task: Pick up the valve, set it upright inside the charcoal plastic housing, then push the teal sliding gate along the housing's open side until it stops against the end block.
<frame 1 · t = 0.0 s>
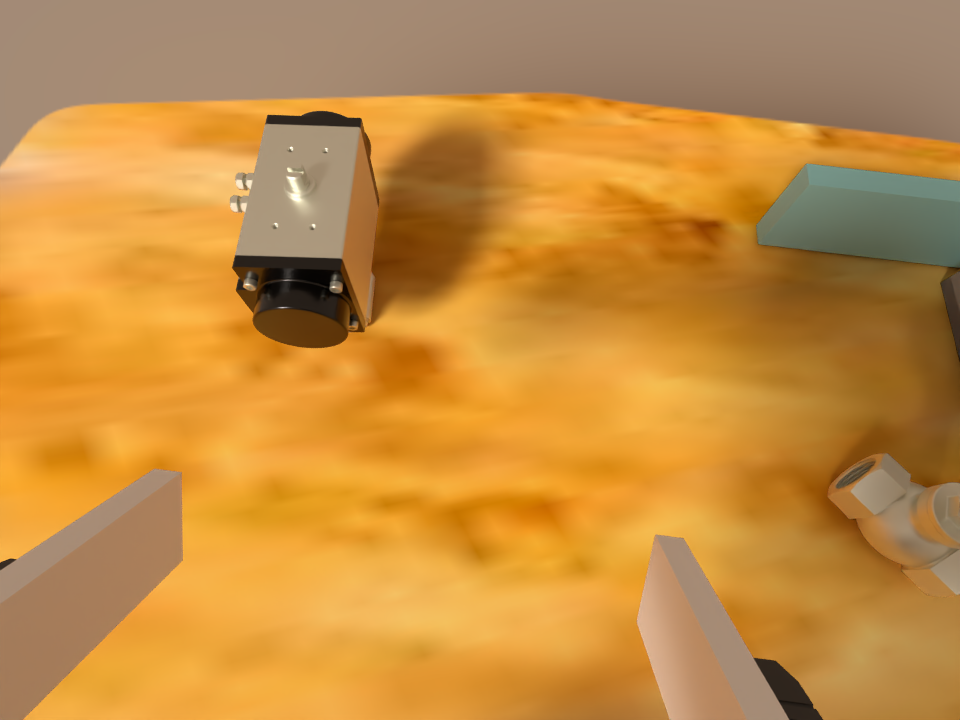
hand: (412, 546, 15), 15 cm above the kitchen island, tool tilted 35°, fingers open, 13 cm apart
pneumatic valve: (341, 303, 35), on the kitchen island
valve: (875, 527, 31), on the kitchen island
gate: (897, 220, 35), point 3 cm above the kitchen island, slide at 12.0 cm
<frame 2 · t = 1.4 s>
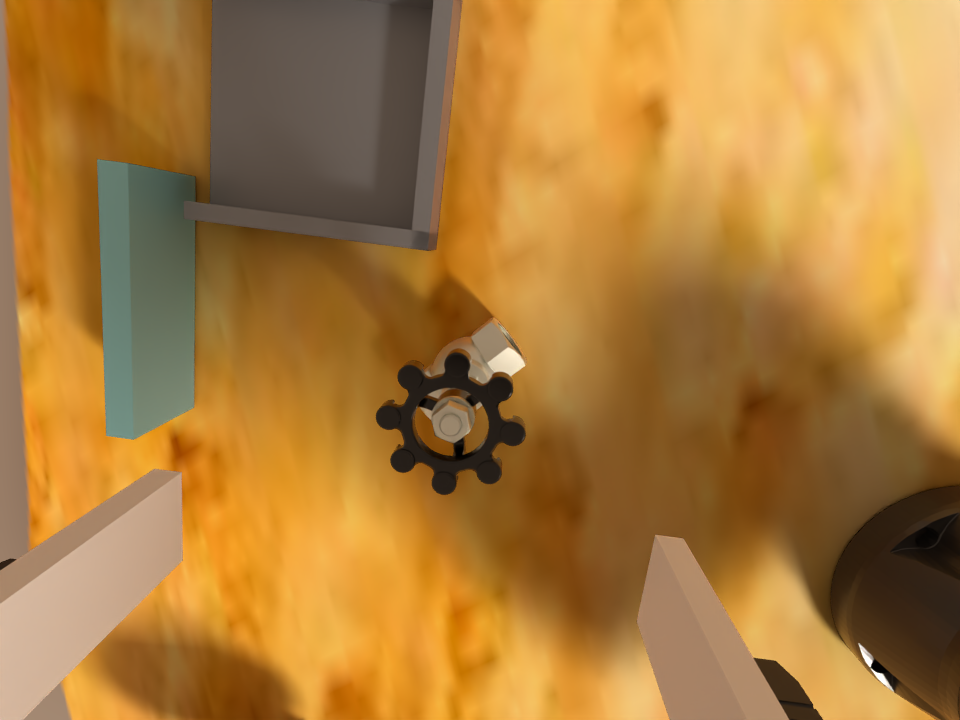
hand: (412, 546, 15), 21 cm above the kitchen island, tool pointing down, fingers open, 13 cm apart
valve: (470, 363, 35), on the kitchen island
gate: (152, 301, 32), point 3 cm above the kitchen island, slide at 12.0 cm
housing: (332, 115, 32), on the kitchen island
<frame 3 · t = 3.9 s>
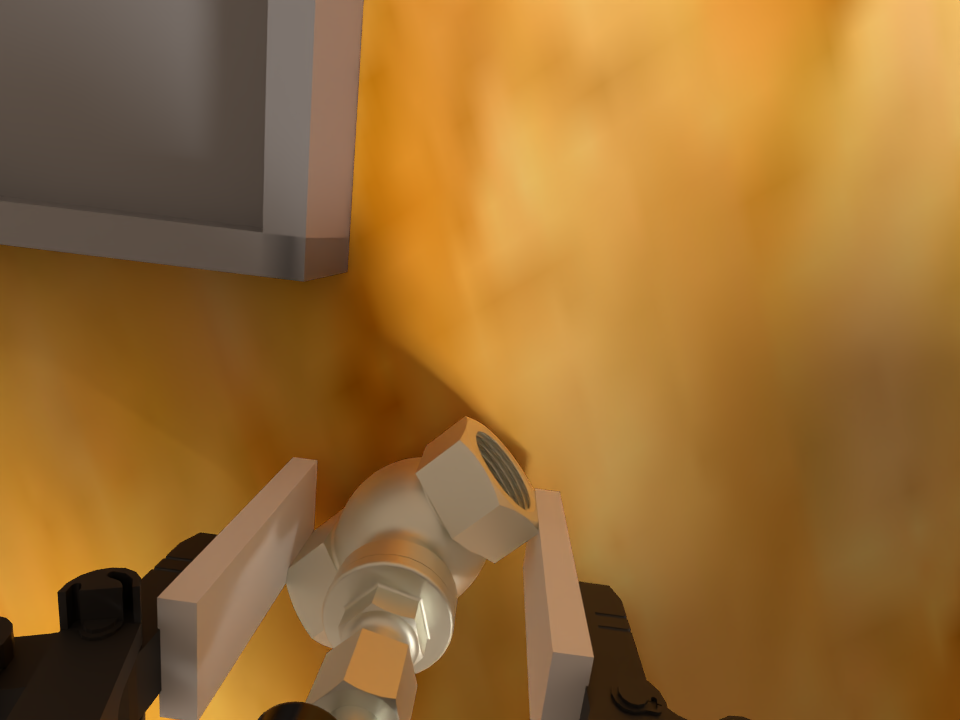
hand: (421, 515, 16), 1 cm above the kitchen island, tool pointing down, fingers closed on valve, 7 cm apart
valve: (426, 496, 18), on the kitchen island, touching gripper
when the fingers open (4 cm above the kitchen island, at t = 9.7 s): valve drops 2 cm, resting on housing.
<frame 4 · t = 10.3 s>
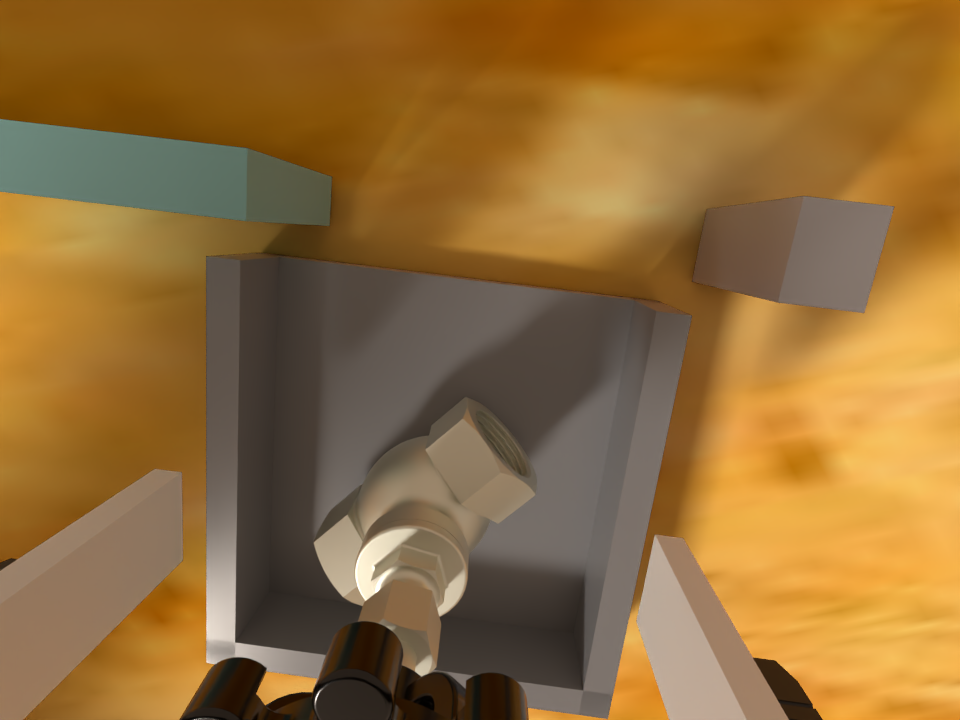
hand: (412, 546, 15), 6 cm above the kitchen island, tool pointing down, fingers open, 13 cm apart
valve: (433, 470, 20), point 1 cm above the kitchen island, touching housing
gate: (38, 164, 15), point 3 cm above the kitchen island, slide at 12.0 cm
housing: (438, 461, 20), on the kitchen island
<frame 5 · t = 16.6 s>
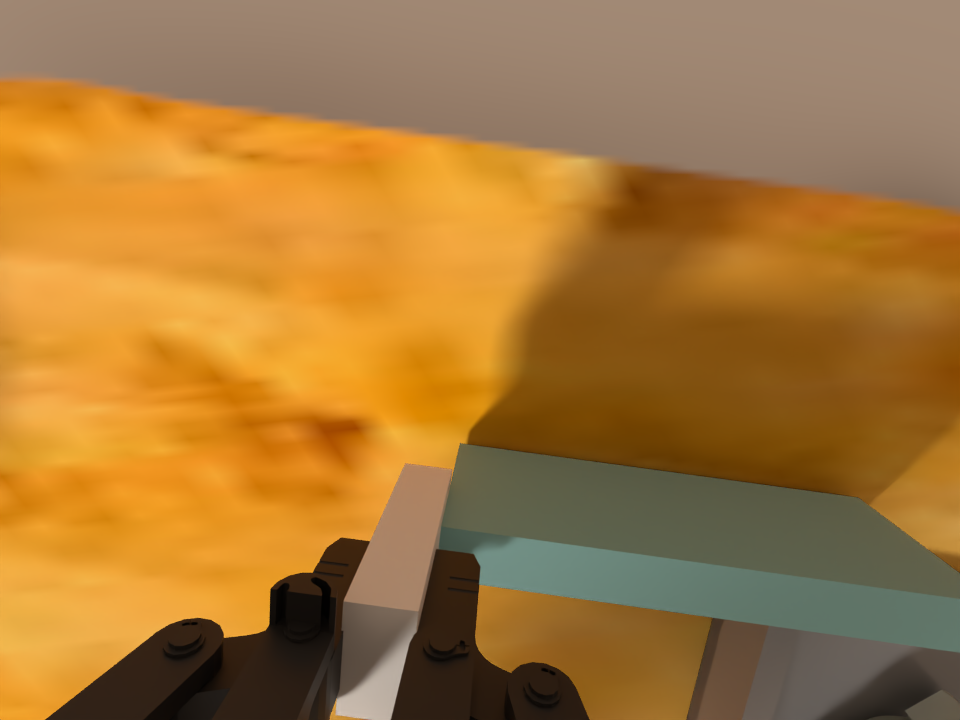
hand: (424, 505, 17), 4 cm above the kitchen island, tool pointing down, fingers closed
gate: (677, 531, 17), point 3 cm above the kitchen island, slide at 10.5 cm, touching gripper
housing: (860, 716, 23), on the kitchen island
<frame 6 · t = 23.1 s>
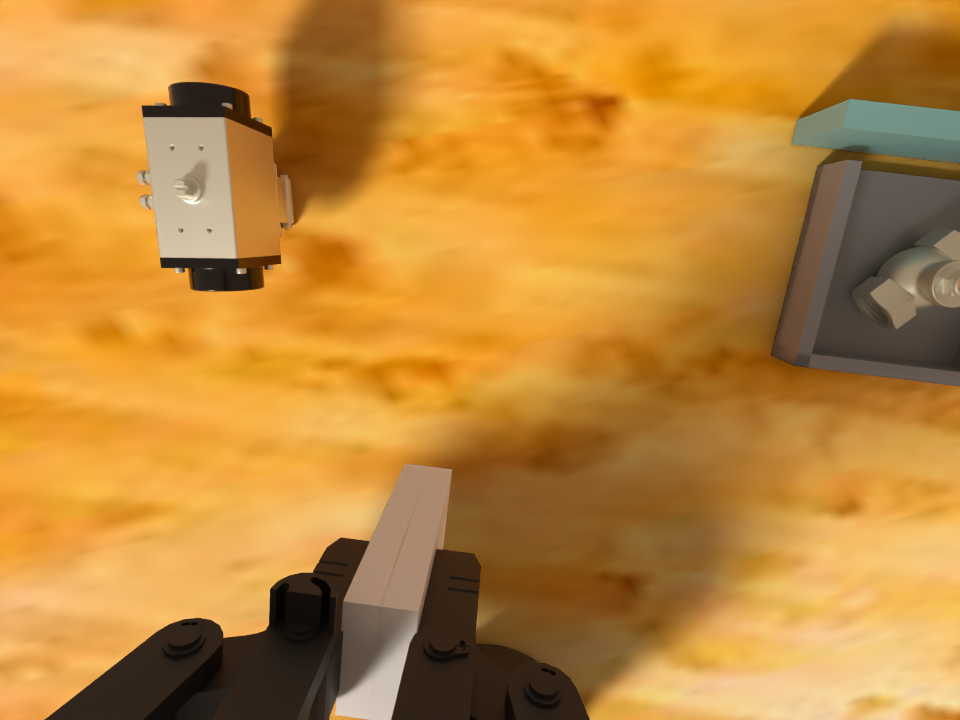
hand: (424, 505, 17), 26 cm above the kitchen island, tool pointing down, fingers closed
pneumatic valve: (268, 201, 41), on the kitchen island
valve: (891, 277, 39), point 1 cm above the kitchen island, touching housing
gate: (934, 136, 35), point 3 cm above the kitchen island, slide at 1.8 cm
housing: (887, 275, 40), on the kitchen island
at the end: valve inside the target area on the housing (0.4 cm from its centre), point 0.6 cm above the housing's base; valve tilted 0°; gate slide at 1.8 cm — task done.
